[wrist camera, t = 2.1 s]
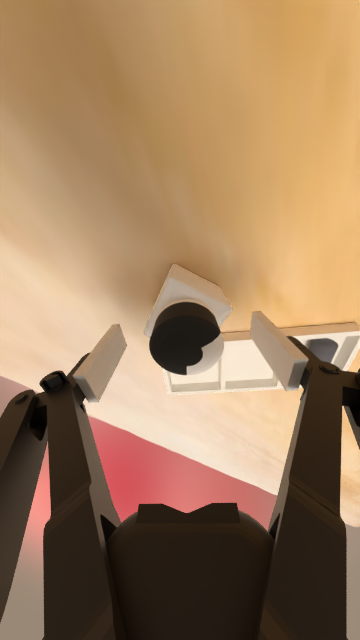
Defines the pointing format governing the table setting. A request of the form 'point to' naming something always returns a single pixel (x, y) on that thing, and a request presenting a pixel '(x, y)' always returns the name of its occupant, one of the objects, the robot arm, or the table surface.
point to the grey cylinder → (324, 348)
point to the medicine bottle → (187, 323)
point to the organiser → (260, 361)
